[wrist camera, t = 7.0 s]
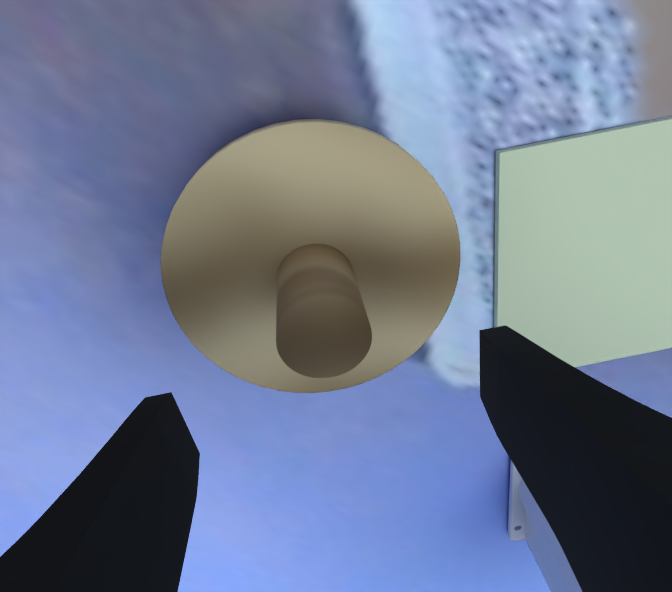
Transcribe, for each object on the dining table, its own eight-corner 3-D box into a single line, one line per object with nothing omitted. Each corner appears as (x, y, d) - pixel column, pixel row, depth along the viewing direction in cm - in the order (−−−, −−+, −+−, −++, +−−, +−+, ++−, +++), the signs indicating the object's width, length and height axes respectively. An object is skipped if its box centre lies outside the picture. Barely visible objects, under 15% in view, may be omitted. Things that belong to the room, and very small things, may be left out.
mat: (676, 341, 24) (682, 345, 24) (493, 378, 24) (496, 383, 24) (738, 102, 18) (747, 103, 18) (495, 150, 18) (499, 152, 18)
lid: (462, 346, 19) (509, 426, 15) (224, 403, 19) (210, 497, 15) (438, 82, 14) (499, 99, 10) (112, 163, 14) (48, 212, 10)
